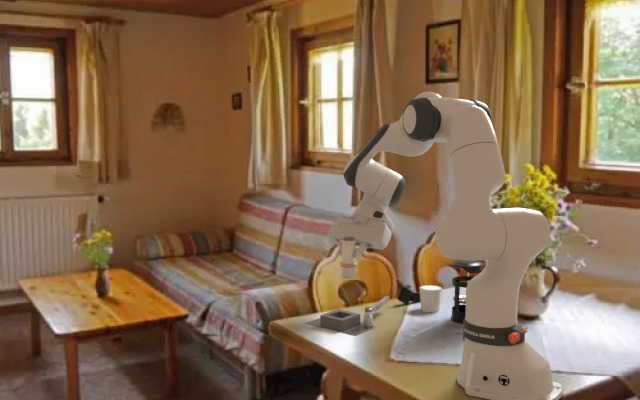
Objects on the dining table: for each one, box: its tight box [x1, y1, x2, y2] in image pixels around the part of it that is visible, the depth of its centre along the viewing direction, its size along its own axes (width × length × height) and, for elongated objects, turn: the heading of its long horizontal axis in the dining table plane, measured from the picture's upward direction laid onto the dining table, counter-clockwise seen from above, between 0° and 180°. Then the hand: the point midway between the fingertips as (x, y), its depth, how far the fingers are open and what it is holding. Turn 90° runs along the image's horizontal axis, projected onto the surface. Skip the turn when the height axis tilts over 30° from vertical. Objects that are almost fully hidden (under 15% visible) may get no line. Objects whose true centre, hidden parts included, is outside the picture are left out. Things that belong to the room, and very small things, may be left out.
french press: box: [450, 260, 485, 325], centre depth 196 cm, size 12×9×23 cm
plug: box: [340, 237, 358, 279], centre depth 197 cm, size 5×5×12 cm
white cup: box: [419, 284, 443, 313], centre depth 208 cm, size 7×7×7 cm
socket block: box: [304, 308, 377, 337], centre depth 190 cm, size 18×10×4 cm, turn 50°
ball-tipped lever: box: [364, 295, 391, 316], centre depth 195 cm, size 18×2×2 cm, turn 156°
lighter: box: [396, 284, 421, 305], centre depth 215 cm, size 9×2×6 cm
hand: (347, 255), depth 197 cm, fingers closed on plug, 4 cm apart
